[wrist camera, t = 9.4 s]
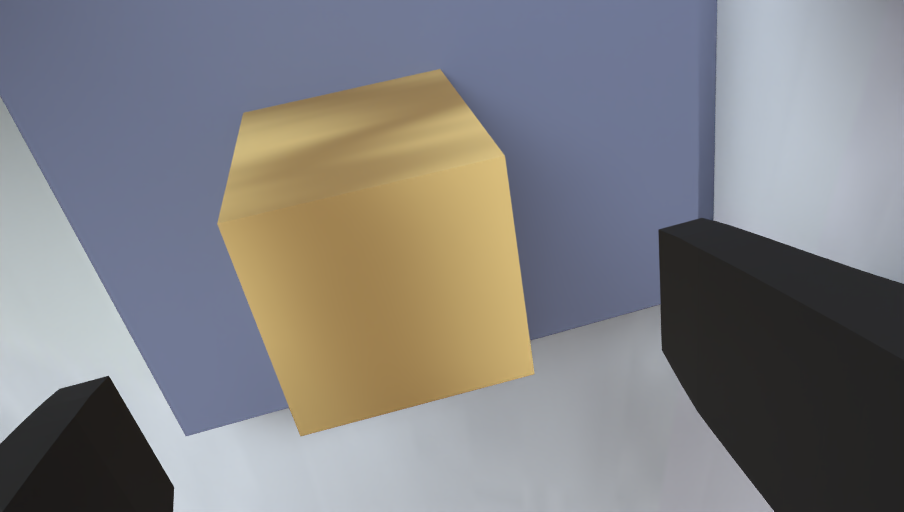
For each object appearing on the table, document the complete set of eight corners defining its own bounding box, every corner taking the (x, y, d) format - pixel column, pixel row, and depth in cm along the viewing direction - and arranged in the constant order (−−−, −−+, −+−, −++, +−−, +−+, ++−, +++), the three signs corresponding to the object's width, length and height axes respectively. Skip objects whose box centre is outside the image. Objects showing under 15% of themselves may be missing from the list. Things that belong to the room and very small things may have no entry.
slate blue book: (647, -190, 15) (720, -205, 12) (660, 238, 20) (711, 289, 18) (-1, -49, 14) (-69, -32, 11) (200, 362, 19) (186, 436, 17)
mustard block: (440, 68, 14) (504, 155, 9) (470, 238, 16) (534, 374, 11) (243, 112, 13) (216, 223, 9) (299, 280, 15) (300, 436, 11)
